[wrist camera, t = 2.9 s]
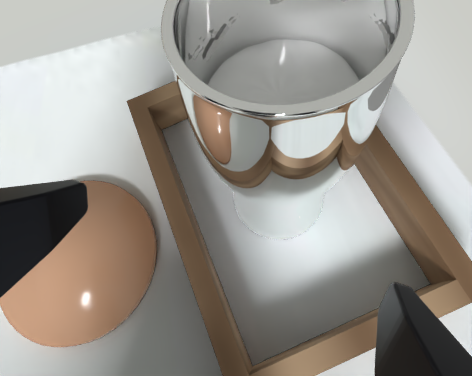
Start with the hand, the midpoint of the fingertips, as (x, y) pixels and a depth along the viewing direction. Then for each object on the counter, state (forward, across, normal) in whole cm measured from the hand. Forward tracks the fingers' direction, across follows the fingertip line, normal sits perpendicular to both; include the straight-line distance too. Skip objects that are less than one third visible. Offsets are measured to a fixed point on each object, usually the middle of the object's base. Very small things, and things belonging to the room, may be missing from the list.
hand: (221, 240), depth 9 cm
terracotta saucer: (+7, +12, +10) cm, 17 cm away
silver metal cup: (+13, 0, +5) cm, 14 cm away
